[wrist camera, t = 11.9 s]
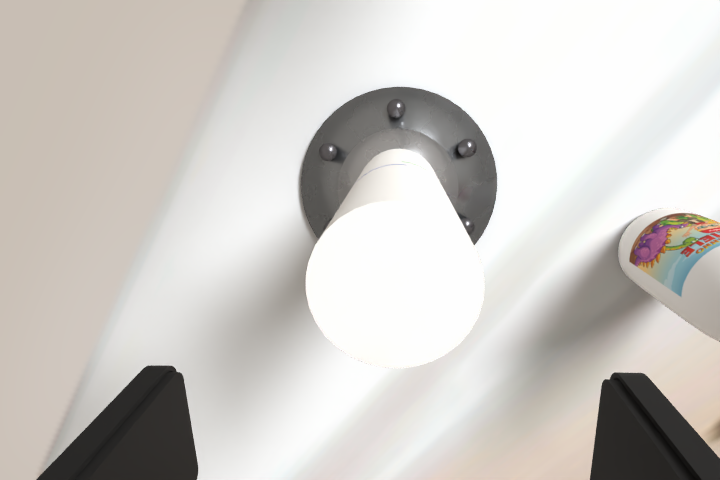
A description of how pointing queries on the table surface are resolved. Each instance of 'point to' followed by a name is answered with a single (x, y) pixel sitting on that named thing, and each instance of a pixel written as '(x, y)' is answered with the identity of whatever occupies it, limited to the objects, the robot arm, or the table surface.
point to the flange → (400, 131)
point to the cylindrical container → (395, 268)
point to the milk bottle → (676, 264)
